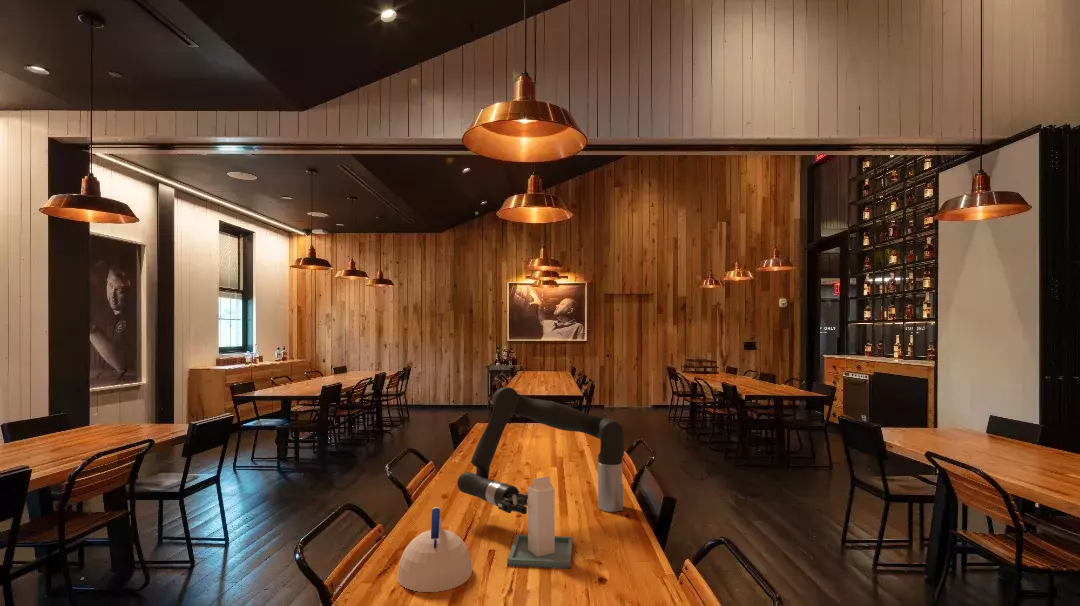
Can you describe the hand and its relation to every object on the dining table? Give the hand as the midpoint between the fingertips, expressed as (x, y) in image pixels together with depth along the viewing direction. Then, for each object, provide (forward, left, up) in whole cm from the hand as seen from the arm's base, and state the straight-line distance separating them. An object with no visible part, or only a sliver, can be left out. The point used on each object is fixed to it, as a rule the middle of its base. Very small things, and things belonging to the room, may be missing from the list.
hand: (536, 507), depth 157 cm
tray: (-2, +1, -13) cm, 13 cm away
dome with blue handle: (+26, +17, -13) cm, 34 cm away
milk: (-2, +1, -13) cm, 13 cm away
